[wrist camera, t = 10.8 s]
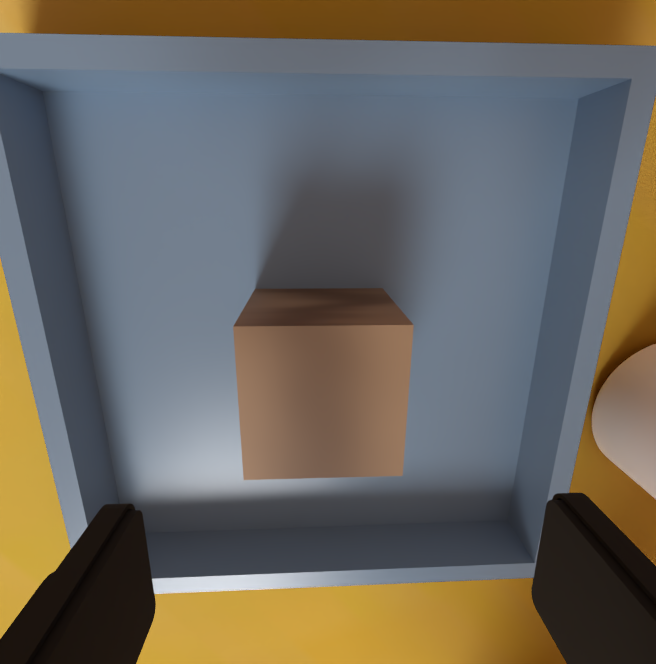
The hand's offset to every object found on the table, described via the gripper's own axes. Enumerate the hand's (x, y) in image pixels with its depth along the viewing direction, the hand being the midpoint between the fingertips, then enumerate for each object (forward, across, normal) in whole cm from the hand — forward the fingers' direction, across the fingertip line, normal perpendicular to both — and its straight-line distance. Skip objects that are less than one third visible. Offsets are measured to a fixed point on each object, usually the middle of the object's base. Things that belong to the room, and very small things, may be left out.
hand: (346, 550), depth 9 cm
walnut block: (+12, 0, -1) cm, 12 cm away
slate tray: (+13, 0, -1) cm, 13 cm away
